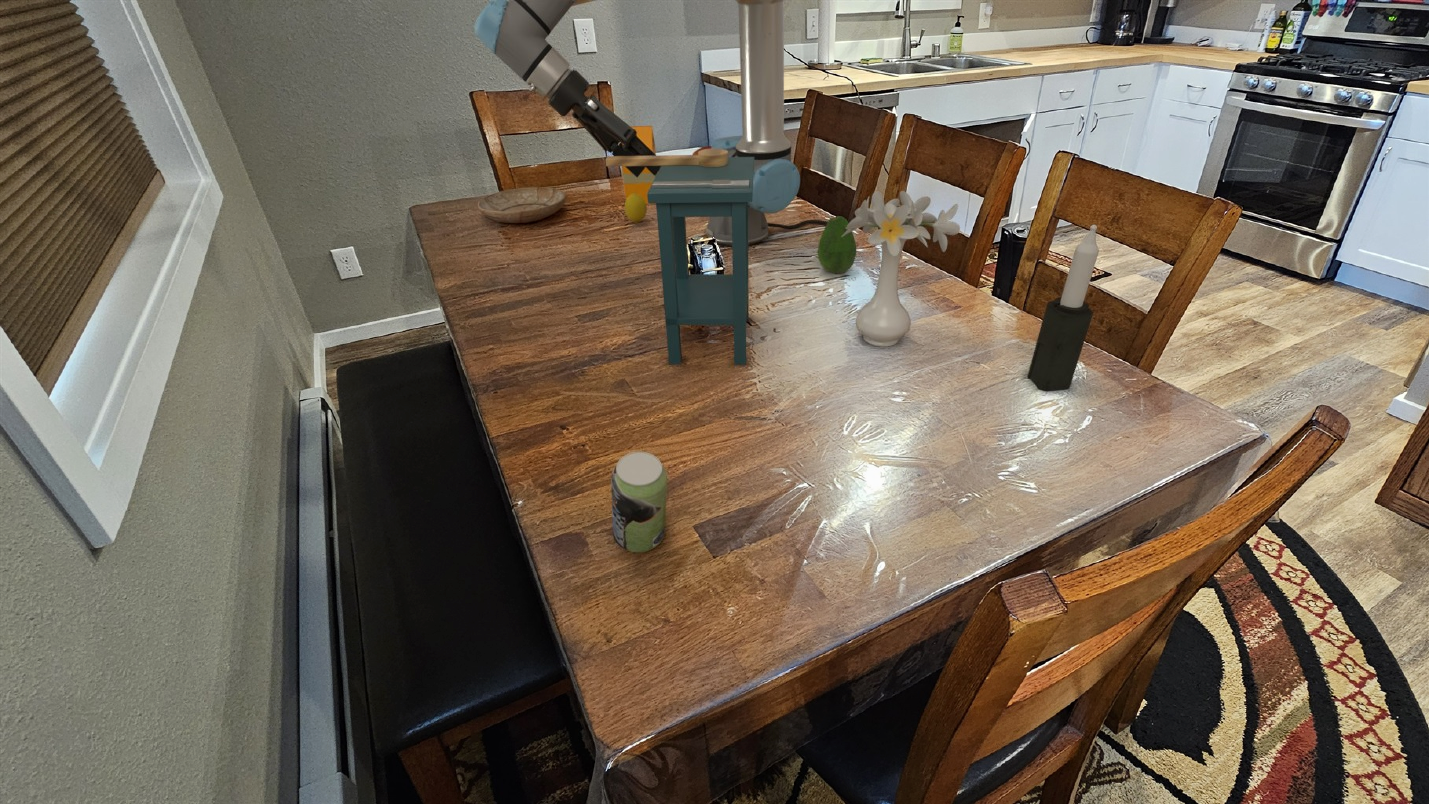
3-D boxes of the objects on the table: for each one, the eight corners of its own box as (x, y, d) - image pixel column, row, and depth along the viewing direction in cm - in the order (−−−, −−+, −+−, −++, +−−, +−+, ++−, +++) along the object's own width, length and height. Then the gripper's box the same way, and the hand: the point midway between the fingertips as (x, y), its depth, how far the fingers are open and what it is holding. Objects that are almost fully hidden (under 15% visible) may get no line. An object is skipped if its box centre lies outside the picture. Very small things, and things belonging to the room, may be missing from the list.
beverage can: (636, 513, 81) (626, 435, 74) (684, 536, 77) (678, 457, 71) (602, 544, 77) (587, 465, 70) (650, 571, 73) (640, 490, 66)
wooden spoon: (604, 169, 106) (603, 157, 105) (610, 161, 110) (608, 150, 109) (727, 167, 104) (726, 155, 103) (728, 159, 108) (728, 148, 107)
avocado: (831, 262, 146) (835, 208, 139) (861, 271, 141) (866, 216, 134) (808, 273, 141) (811, 218, 134) (838, 283, 136) (843, 226, 130)
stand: (662, 367, 110) (647, 193, 94) (676, 314, 127) (664, 158, 110) (752, 368, 109) (752, 191, 93) (754, 314, 125) (754, 156, 109)
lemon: (644, 227, 169) (641, 196, 164) (623, 227, 170) (620, 195, 165) (650, 220, 173) (647, 190, 169) (630, 220, 174) (627, 189, 170)
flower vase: (949, 344, 114) (977, 199, 100) (855, 364, 109) (870, 215, 95) (907, 313, 124) (927, 177, 110) (819, 330, 119) (828, 191, 105)
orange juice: (657, 204, 185) (650, 128, 174) (625, 205, 185) (617, 129, 174) (659, 195, 191) (653, 122, 180) (629, 196, 192) (621, 123, 181)
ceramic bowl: (586, 210, 183) (583, 191, 180) (524, 236, 166) (520, 216, 163) (526, 198, 193) (523, 181, 190) (462, 222, 177) (458, 204, 174)
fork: (652, 189, 95) (651, 185, 95) (654, 184, 97) (654, 180, 97) (748, 188, 94) (748, 184, 94) (749, 183, 96) (749, 179, 96)
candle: (1024, 374, 105) (1066, 219, 91) (1055, 372, 105) (1101, 217, 91) (1040, 391, 100) (1086, 232, 87) (1072, 389, 101) (1124, 230, 87)
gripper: (538, 109, 126) (623, 187, 135) (554, 90, 104) (654, 185, 113) (563, 79, 126) (646, 158, 135) (584, 53, 104) (681, 151, 113)
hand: (650, 171), depth 124 cm, fingers open, 13 cm apart
